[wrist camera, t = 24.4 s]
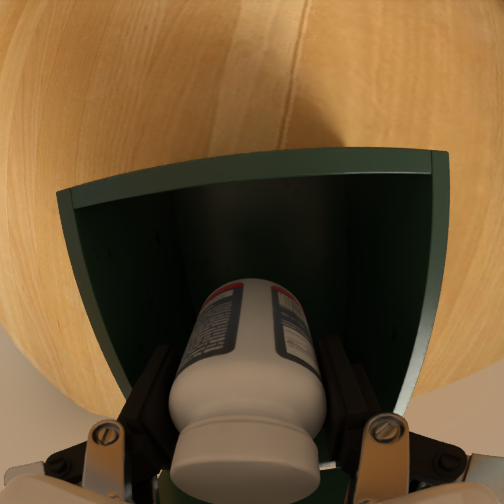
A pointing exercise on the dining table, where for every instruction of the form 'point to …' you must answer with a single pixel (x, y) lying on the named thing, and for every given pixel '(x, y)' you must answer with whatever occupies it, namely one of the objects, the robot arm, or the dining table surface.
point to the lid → (321, 500)
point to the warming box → (268, 252)
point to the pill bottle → (248, 399)
